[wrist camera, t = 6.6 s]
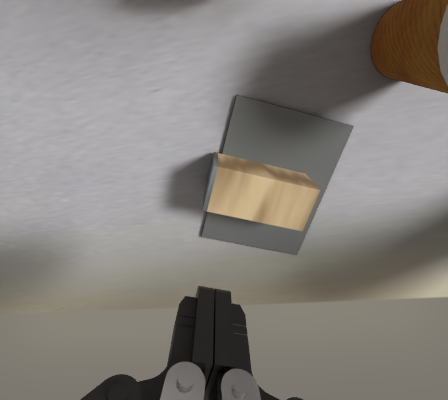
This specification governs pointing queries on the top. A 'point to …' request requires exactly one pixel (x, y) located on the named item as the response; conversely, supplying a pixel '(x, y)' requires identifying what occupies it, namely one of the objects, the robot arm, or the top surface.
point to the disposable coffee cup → (413, 43)
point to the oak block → (259, 192)
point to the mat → (278, 164)
